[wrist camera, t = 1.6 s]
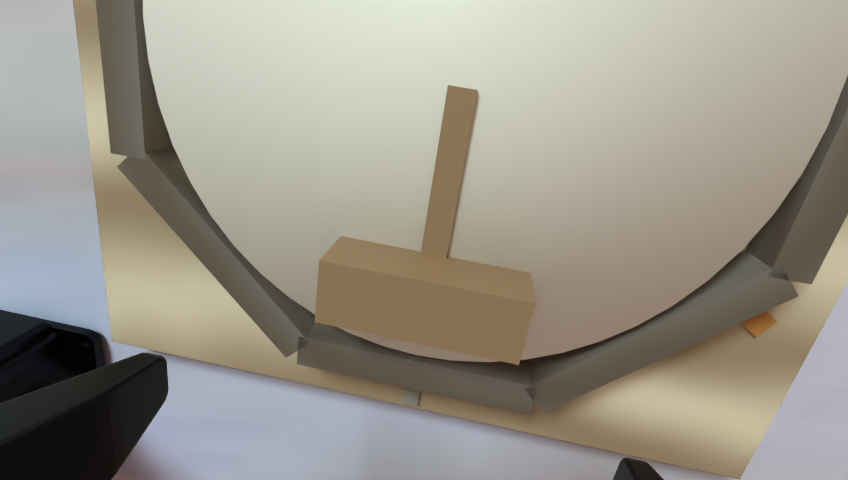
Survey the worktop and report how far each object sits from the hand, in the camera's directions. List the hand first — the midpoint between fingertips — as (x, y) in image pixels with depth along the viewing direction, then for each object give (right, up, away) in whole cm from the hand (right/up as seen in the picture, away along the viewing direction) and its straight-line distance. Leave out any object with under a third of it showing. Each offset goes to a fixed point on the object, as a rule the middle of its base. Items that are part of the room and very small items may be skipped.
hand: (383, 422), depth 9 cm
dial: (+2, +9, +5) cm, 10 cm away
